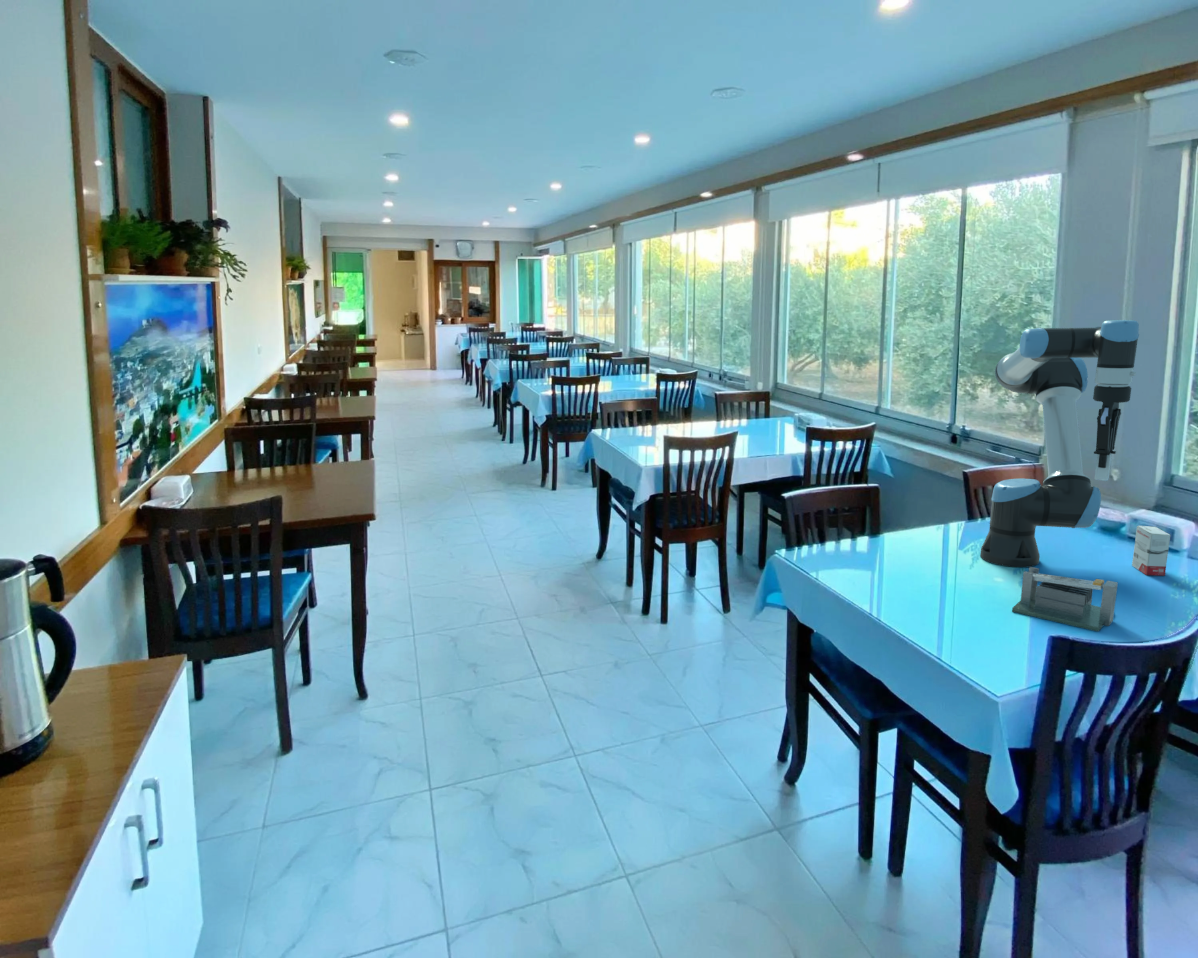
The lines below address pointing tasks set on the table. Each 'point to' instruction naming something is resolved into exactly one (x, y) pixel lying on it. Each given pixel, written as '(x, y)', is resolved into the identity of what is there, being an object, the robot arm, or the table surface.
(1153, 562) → the ink box
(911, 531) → the table surface
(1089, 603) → the heatsink
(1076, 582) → the strap
